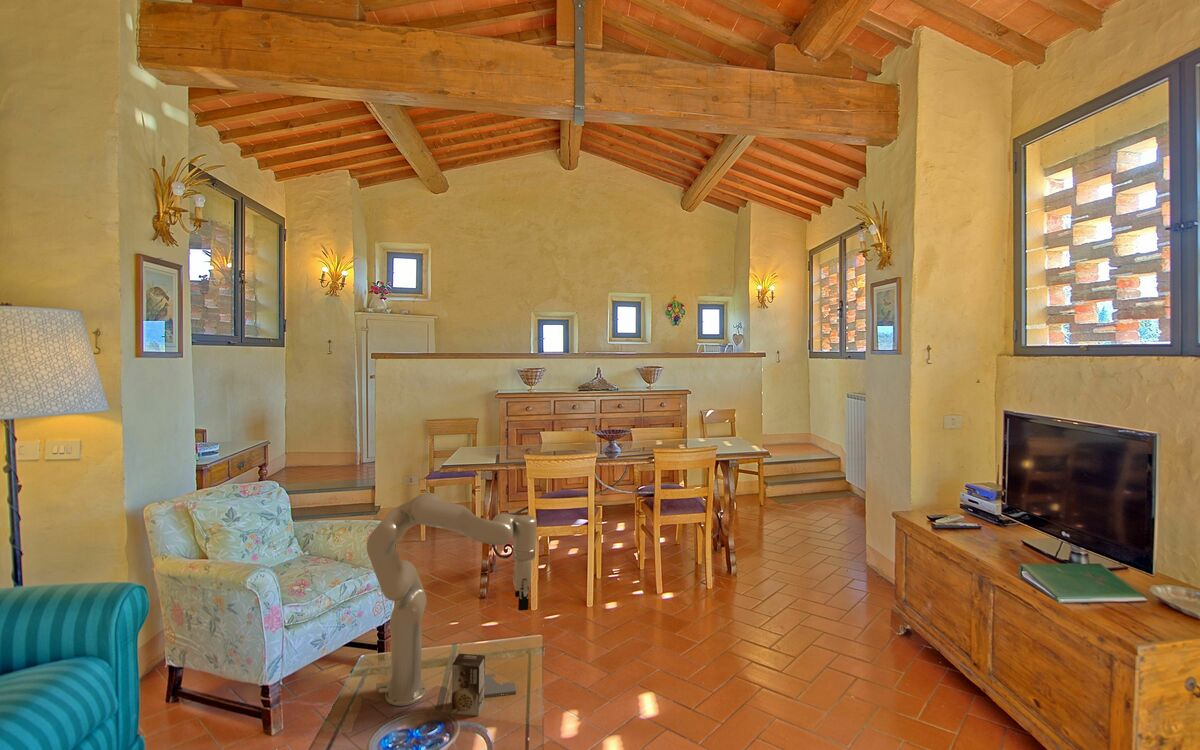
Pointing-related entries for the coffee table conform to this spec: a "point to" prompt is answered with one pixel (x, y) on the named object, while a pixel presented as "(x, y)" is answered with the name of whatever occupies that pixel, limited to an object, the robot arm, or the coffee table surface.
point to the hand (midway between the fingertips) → (521, 603)
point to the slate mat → (497, 687)
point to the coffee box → (468, 684)
